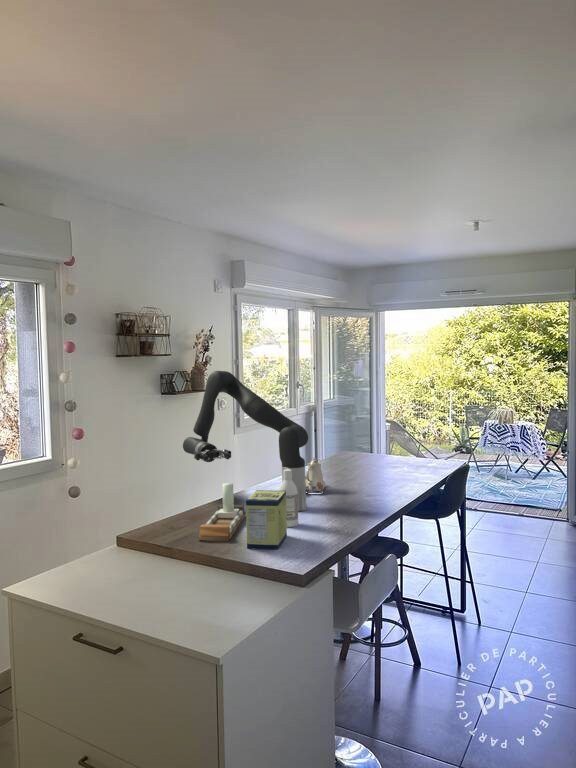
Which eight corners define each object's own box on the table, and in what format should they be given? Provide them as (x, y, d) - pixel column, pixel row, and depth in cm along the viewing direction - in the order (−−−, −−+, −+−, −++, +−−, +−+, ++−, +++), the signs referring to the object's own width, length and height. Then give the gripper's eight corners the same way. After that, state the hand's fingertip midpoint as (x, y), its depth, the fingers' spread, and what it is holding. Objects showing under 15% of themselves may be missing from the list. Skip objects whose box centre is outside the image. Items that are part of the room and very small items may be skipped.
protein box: (287, 535, 199) (286, 490, 198) (278, 550, 183) (277, 500, 183) (257, 534, 201) (256, 489, 200) (246, 549, 185) (245, 500, 185)
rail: (219, 515, 226) (219, 504, 226) (245, 516, 225) (244, 504, 225) (198, 541, 194) (198, 527, 194) (228, 541, 193) (228, 527, 193)
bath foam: (301, 526, 210) (300, 470, 209) (284, 528, 207) (283, 472, 206) (293, 521, 216) (292, 467, 215) (275, 524, 213) (274, 469, 212)
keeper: (221, 513, 222) (220, 482, 222) (239, 514, 221) (238, 482, 221) (217, 518, 216) (216, 485, 216) (236, 518, 215) (235, 485, 215)
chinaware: (305, 488, 281) (301, 453, 281) (338, 487, 274) (334, 451, 274) (280, 501, 255) (275, 463, 256) (315, 500, 248) (310, 461, 248)
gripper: (189, 443, 240) (200, 449, 225) (222, 441, 245) (235, 446, 231) (189, 461, 240) (200, 468, 225) (222, 459, 246) (235, 465, 231)
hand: (218, 457), depth 228 cm, fingers open, 8 cm apart
